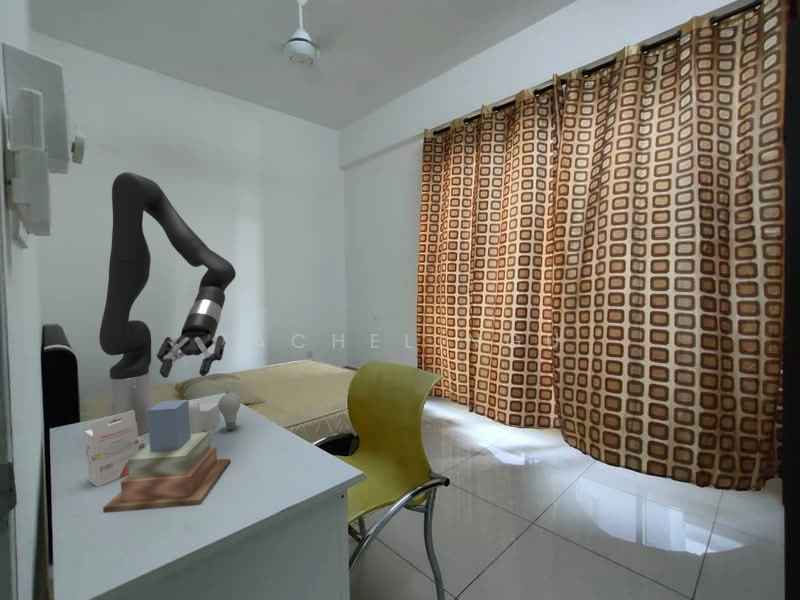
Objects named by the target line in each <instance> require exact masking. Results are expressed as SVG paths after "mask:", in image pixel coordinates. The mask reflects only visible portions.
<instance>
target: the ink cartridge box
mask: <svg viewBox="0 0 800 600" xmlns="http://www.w3.org/2000/svg"><path fill="white" fill-rule="evenodd" d="M113 419H122V421H118V422H115V423H112V424H108V423H109V422H111V421H112V420H113ZM138 437H139V435H138V430H137V422H136V419H135V411H134V410H131V411H128V412H125V413H121V414H117V415H114V416H110V417H109V416H107V417H104V418H101V419H97V420H94V421H92V422H91V429H89V430H85V431H84V442H85V444H84V445H85V453H86V464H87V473H88V474H87V475H88V481H89V482H90V483H91V484H93V486H95V487H101V486H104V485H105V484H108V483H110V482H112V481H115V480H118V479H120V478H122V477H125V476H128V475H129V464H128V459H130V458H131V457H132V456H134V455H135V454H136V453H138V452H139V451H140V450H139V443H138Z"/></svg>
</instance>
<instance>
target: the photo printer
mask: <svg viewBox="0 0 800 600" xmlns="http://www.w3.org/2000/svg"><path fill="white" fill-rule="evenodd" d="M187 400H188V402H189V419H190V434H191V433H202V430H201V417H200V407H199V405H200V404H199V402H198V401H197V400H191V399H190V400H189V399H187Z"/></svg>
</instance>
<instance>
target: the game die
mask: <svg viewBox="0 0 800 600" xmlns="http://www.w3.org/2000/svg"><path fill="white" fill-rule="evenodd" d="M145 442H146V441H145V439H144V438H143V437H142V436H138V443H139V449H140V450H141V449H143V448H144V447H145V446H146V445H145V444H146V443H145Z"/></svg>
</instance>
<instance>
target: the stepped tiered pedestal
mask: <svg viewBox="0 0 800 600" xmlns="http://www.w3.org/2000/svg"><path fill="white" fill-rule="evenodd" d="M190 436H191V439H189V440H188V441H187V442H186V443H185V444H184V445H183V446H182V447H181V448H180V449H179V450H173V451H159V452H150V442H149V443H148V444H147V445H144V446H143V448H142V449H140V450H139V452H138V453H136V454H135V455H134V456H132V457H131V458H130V459H128V464H129V474H128V475H126V477H125V478H124V479H123V480H121V481H120V488H121V489H120V490H121V491H120V492H119V493H117V494H116V495H115V496H114V497H113V498H111V500H109V502H107V503H106V504H105V505H104V506H102V507H103V508H102V509H103V510H102V511H103V513H109V512H110V513H111V512H123V511H124V512H125V511H132V510H133V511H135V510H146V509H148V510H149V509H158V508H160V509H161V508H172V507H181V506H182V507H185V506H196V505H197V506H198V505H201V504H203V502H204V500H205V499H206V497H207V496H208V495H209V494H210V492H211V491H212V489H213V488H214V487H215V485H216V484H217V482H218V480H219V479H221V477H222V475H223V474H224V472H225V471H227V468H228V467H229V465H230V464H231V458H223V459H222V458H221V459H218V454H217V453H218V452H217V446H211V443H210V432H208V431H207V432H201V433H191V434H190ZM220 476H221V477H220ZM215 483H216V484H215ZM210 490H211V491H210Z"/></svg>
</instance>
